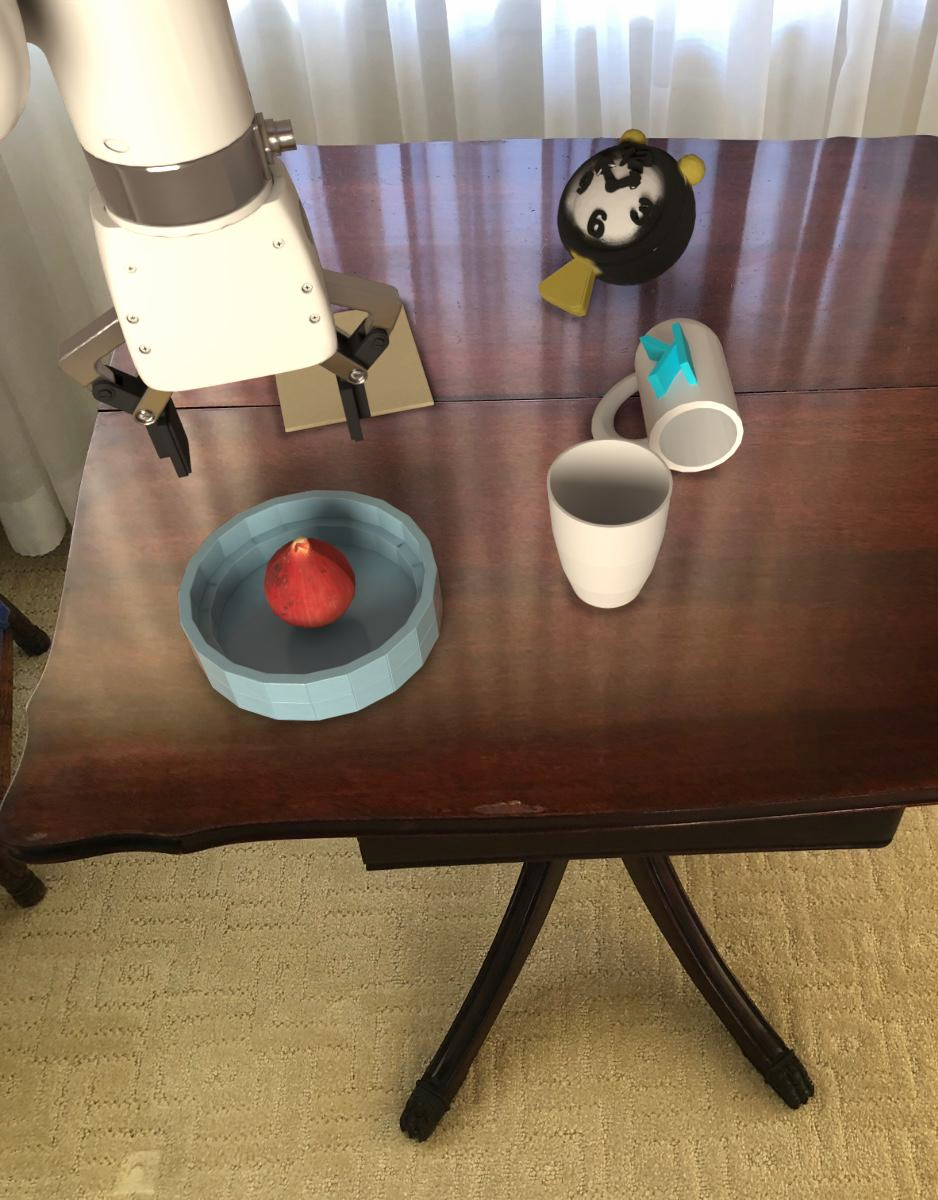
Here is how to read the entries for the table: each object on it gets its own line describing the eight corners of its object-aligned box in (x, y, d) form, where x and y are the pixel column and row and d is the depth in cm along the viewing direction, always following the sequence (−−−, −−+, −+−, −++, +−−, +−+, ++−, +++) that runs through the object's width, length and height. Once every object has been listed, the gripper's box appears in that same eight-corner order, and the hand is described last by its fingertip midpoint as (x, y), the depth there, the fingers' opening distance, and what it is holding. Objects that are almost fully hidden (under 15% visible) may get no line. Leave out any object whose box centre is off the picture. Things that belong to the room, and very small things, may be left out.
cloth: (286, 432, 88) (284, 428, 87) (266, 328, 96) (265, 324, 96) (434, 405, 90) (433, 401, 90) (402, 305, 98) (402, 301, 98)
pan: (207, 751, 69) (187, 711, 66) (189, 560, 79) (171, 517, 76) (465, 689, 72) (459, 648, 69) (417, 513, 82) (409, 470, 79)
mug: (693, 269, 85) (719, 368, 78) (728, 353, 92) (754, 452, 85) (556, 325, 88) (567, 426, 81) (599, 403, 95) (614, 503, 87)
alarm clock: (537, 294, 106) (537, 125, 100) (687, 297, 107) (697, 129, 100) (538, 318, 95) (538, 131, 89) (704, 321, 96) (716, 135, 90)
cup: (673, 549, 80) (683, 449, 73) (651, 635, 75) (659, 537, 68) (565, 530, 81) (564, 429, 74) (537, 613, 76) (532, 514, 69)
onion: (291, 664, 73) (265, 587, 67) (266, 604, 76) (238, 525, 70) (374, 633, 75) (356, 555, 68) (346, 575, 78) (326, 495, 72)
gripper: (358, 95, 53) (407, 373, 67) (-20, 150, 50) (111, 430, 63) (385, 174, 49) (432, 455, 62) (-28, 241, 46) (115, 521, 59)
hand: (270, 442), depth 63 cm, fingers open, 9 cm apart
